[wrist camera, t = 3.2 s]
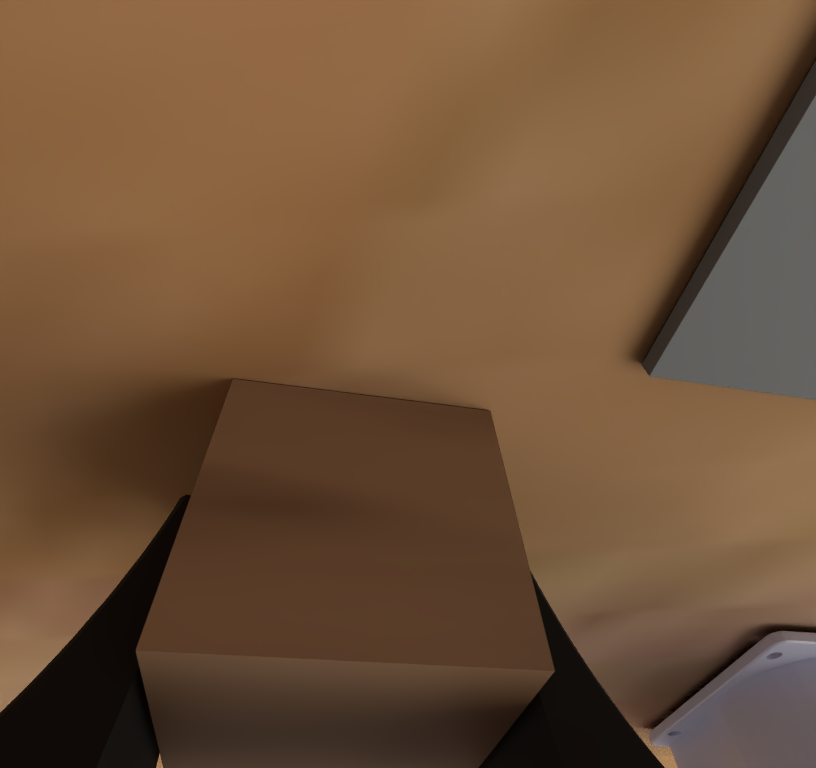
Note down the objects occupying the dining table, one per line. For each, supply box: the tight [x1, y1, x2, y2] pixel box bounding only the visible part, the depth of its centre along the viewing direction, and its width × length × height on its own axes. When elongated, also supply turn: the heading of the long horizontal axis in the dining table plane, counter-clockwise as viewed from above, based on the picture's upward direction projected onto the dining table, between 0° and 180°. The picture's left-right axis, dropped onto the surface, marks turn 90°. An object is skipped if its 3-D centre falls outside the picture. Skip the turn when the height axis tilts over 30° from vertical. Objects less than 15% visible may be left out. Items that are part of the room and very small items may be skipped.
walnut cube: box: [136, 379, 555, 768], centre depth 11 cm, size 6×6×6 cm
